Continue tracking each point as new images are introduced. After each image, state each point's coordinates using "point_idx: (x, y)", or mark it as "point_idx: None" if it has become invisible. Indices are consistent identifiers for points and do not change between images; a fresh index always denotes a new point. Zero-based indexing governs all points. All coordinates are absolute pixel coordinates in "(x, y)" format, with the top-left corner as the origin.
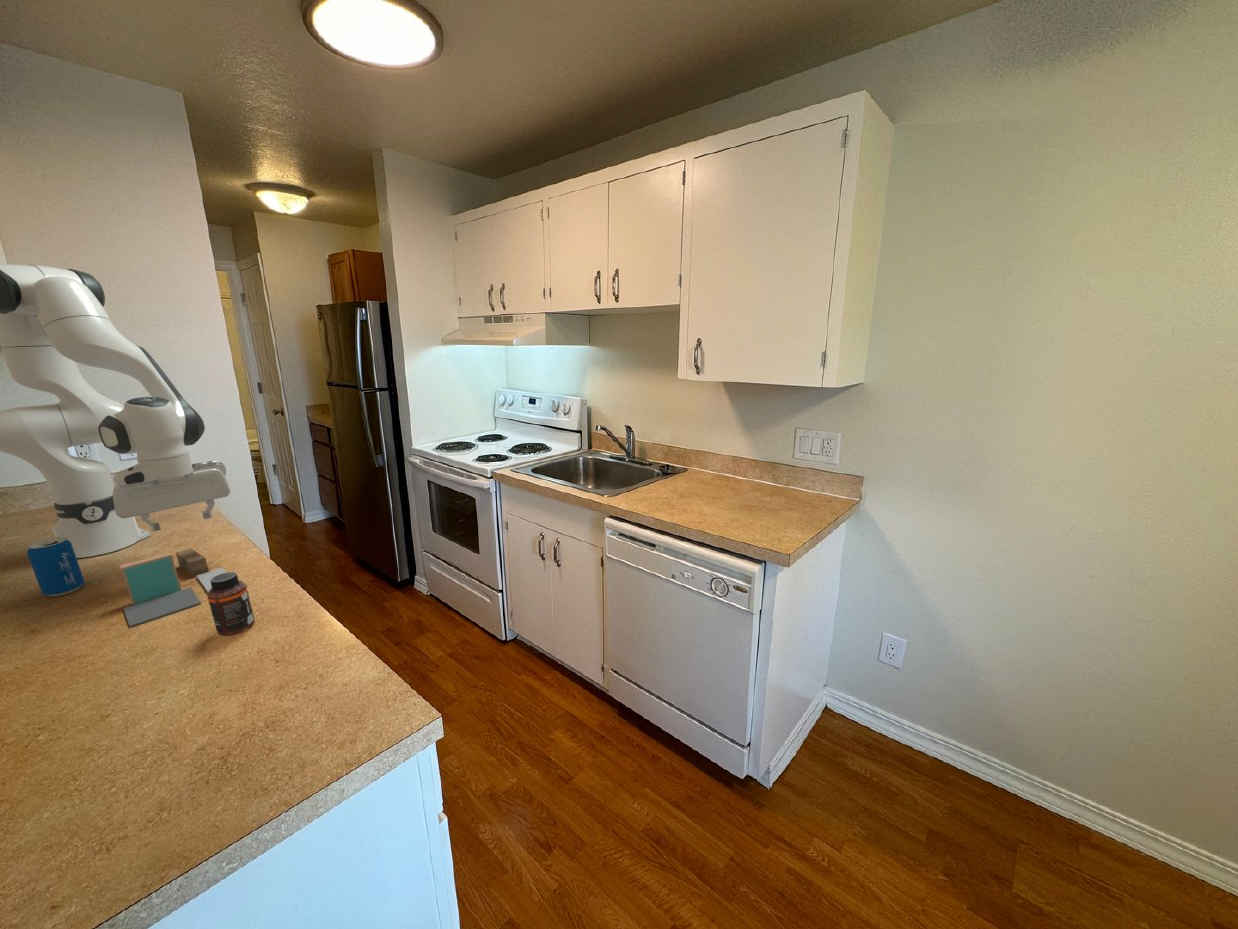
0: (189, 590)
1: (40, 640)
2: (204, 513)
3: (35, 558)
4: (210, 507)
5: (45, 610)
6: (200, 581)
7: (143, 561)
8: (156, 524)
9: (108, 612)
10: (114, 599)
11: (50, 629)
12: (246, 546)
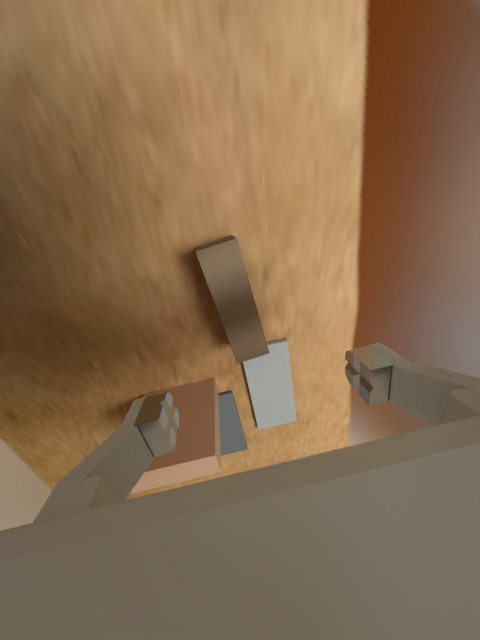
0: (231, 404)
1: (48, 448)
2: (371, 400)
3: None
4: (427, 417)
5: None
6: (247, 381)
7: (162, 480)
8: (164, 450)
9: (115, 409)
10: (102, 361)
11: (41, 422)
12: (356, 199)
